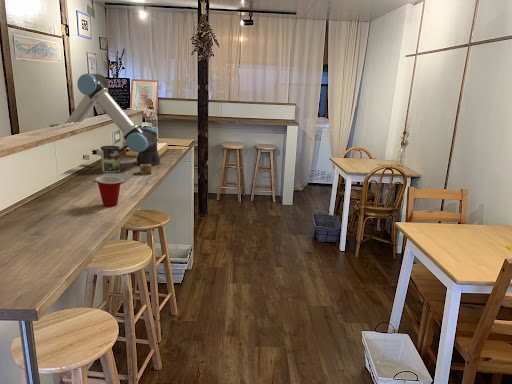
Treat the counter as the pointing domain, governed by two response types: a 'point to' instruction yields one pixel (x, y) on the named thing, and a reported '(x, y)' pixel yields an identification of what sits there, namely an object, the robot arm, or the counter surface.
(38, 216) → the counter surface
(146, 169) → the walnut block
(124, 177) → the mat
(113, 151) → the coffee can
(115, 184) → the plastic cup
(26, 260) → the counter surface
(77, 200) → the counter surface
